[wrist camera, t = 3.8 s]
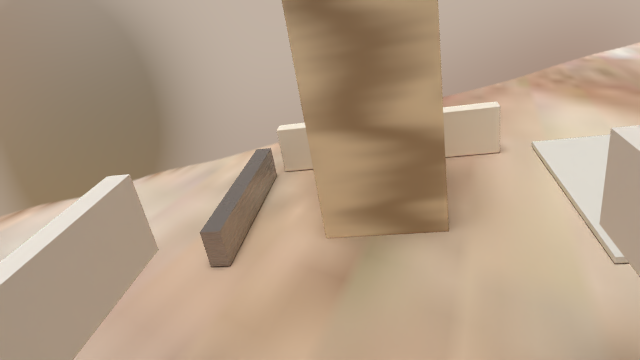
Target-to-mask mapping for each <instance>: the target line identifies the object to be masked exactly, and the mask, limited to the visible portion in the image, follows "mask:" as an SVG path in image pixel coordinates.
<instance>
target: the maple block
mask: <svg viewBox="0 0 640 360" xmlns="http://www.w3.org/2000/svg"><path fill="white" fill-rule="evenodd" d="M282 4H283V9H284V15H285V20H286V26H287V31H288V36H289V42H290V47H291V52H292V57H293V62H294V68H295V74H296V79H297V84H298V89H299V95H300V100H301V106H302V111H303V116H304V122H305V127H306V133H307V138H308V143H309V149H310V154H311V159H312V165H313V170H314V175H315V181H316V186H317V191H318V197H319V202H320V207H321V213H322V218H323V223H324V229H325V234H326V238H338V237H355V236H373V235H391V234H408V233H426V232H443V231H449V226H448V204H447V183H446V161H445V140H444V119H443V97H442V76H441V55H440V33H439V13H438V0H282Z"/></svg>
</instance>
